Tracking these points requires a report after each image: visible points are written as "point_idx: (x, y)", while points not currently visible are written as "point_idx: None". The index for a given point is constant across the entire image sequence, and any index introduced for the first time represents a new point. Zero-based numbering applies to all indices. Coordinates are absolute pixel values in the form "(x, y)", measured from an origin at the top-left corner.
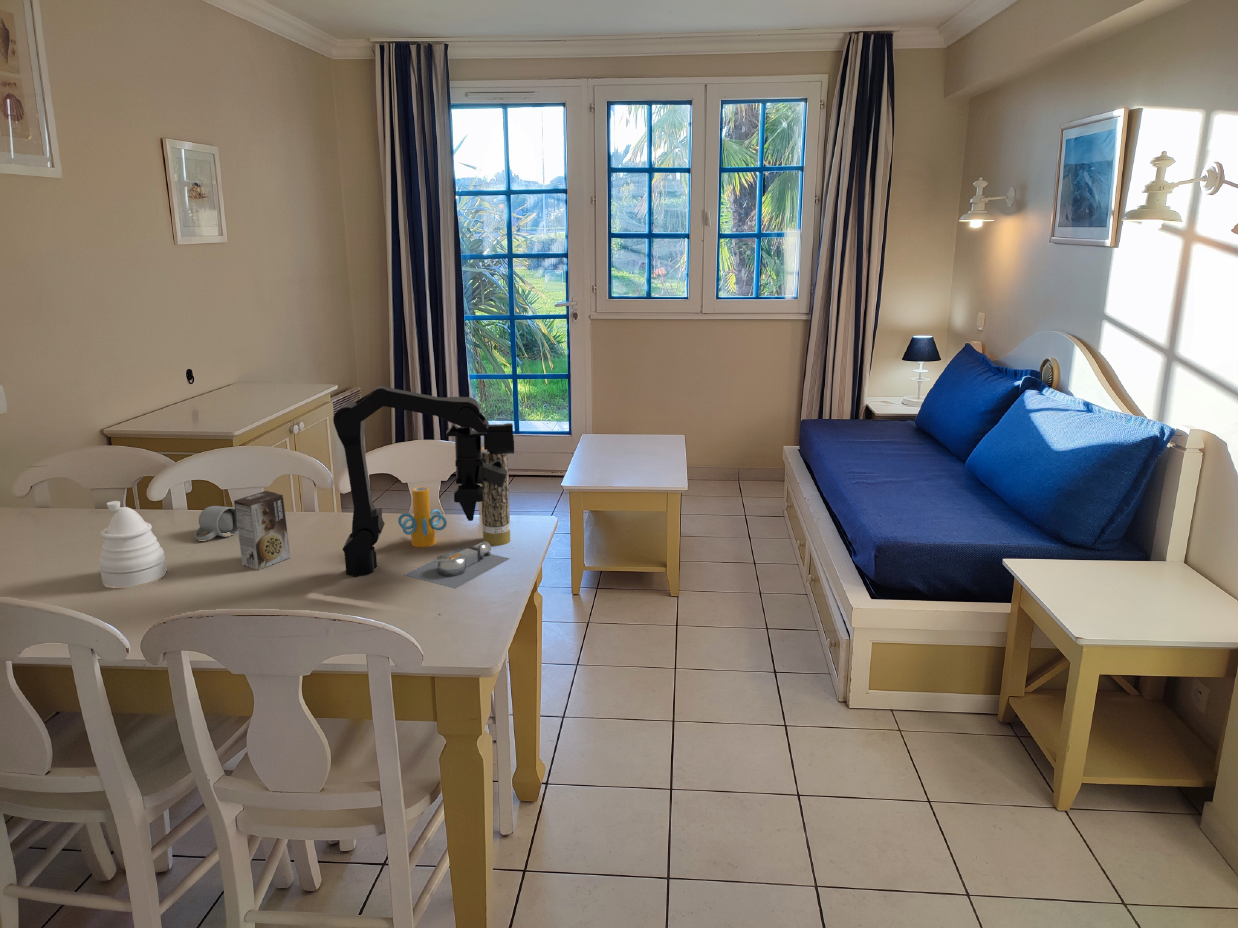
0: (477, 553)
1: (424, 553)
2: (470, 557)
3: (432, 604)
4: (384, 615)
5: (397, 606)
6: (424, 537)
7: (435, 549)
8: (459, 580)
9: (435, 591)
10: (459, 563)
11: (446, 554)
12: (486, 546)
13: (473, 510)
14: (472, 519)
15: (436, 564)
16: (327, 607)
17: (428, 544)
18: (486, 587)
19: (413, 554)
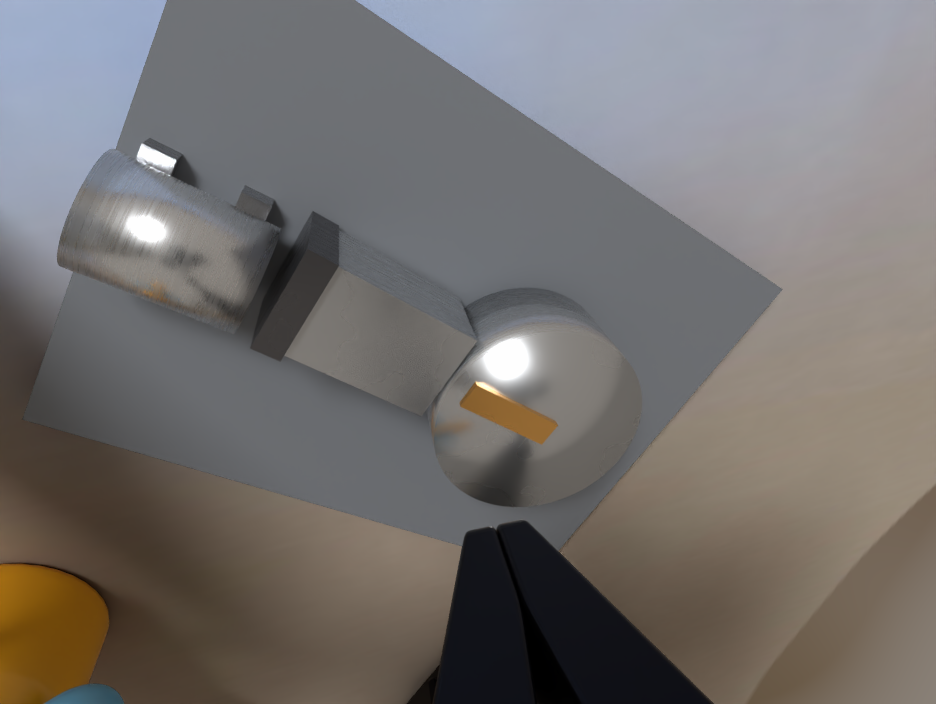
0: (340, 255)
1: (150, 577)
2: (419, 296)
3: (867, 357)
4: (891, 499)
5: (828, 484)
6: (65, 672)
7: (58, 547)
8: (670, 291)
9: (717, 383)
10: (617, 348)
11: (463, 470)
12: (156, 198)
13: (687, 690)
14: (536, 535)
15: (395, 476)
16: (751, 664)
17: (68, 608)
18: (744, 89)
19: (181, 616)
